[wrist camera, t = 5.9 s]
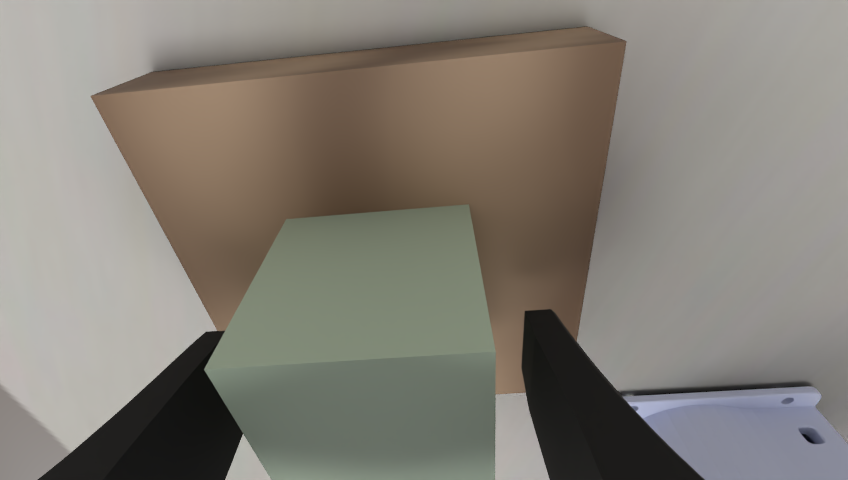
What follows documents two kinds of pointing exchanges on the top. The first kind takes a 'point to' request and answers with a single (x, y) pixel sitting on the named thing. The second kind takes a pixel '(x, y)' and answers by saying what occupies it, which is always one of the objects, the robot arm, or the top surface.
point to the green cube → (365, 350)
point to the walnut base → (386, 159)
